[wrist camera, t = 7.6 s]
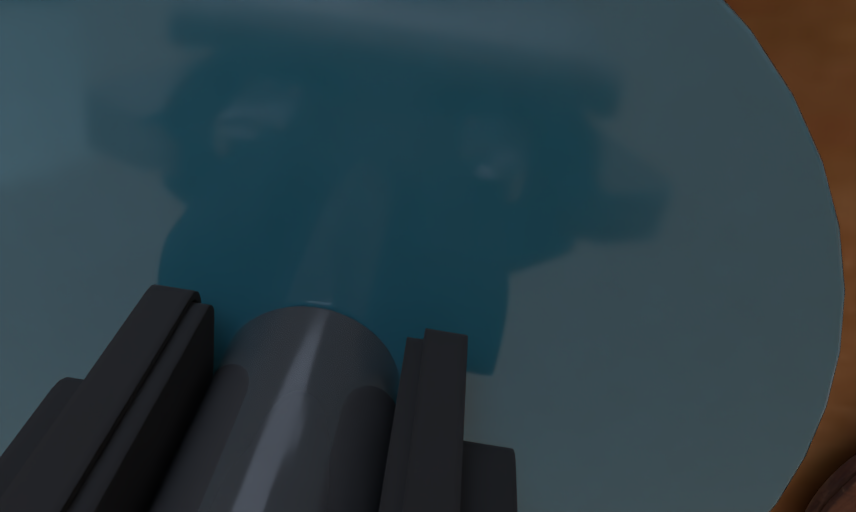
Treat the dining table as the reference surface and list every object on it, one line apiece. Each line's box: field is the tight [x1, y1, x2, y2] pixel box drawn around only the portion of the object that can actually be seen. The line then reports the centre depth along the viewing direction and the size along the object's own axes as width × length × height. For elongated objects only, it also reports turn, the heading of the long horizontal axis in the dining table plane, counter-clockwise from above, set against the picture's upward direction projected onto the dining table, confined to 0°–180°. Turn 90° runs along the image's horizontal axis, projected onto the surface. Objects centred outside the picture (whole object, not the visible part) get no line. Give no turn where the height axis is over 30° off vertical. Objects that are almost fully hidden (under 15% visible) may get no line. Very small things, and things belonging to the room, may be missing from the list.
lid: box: [0, 0, 845, 512], centre depth 9 cm, size 14×14×6 cm
